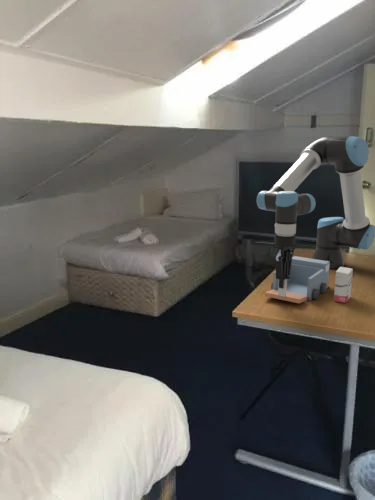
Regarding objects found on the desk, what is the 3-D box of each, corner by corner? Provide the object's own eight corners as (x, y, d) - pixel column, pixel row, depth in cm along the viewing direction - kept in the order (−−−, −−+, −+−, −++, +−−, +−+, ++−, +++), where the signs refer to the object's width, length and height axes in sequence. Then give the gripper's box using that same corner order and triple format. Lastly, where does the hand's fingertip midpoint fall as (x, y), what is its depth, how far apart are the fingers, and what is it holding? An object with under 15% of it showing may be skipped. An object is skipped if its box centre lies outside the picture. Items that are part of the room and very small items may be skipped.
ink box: (346, 303, 178) (348, 273, 175) (332, 301, 180) (335, 271, 178) (350, 296, 185) (353, 267, 183) (338, 294, 188) (340, 266, 185)
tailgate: (273, 289, 187) (264, 292, 181) (307, 295, 179) (299, 299, 173) (272, 293, 188) (264, 297, 181) (306, 300, 180) (299, 304, 174)
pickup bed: (289, 279, 207) (290, 255, 204) (331, 287, 196) (333, 262, 194) (268, 293, 190) (269, 266, 187) (313, 302, 180) (315, 274, 177)
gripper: (282, 230, 179) (279, 289, 184) (267, 236, 168) (265, 298, 174) (301, 232, 175) (298, 292, 180) (287, 238, 164) (284, 302, 170)
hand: (282, 295), depth 177 cm, fingers closed
